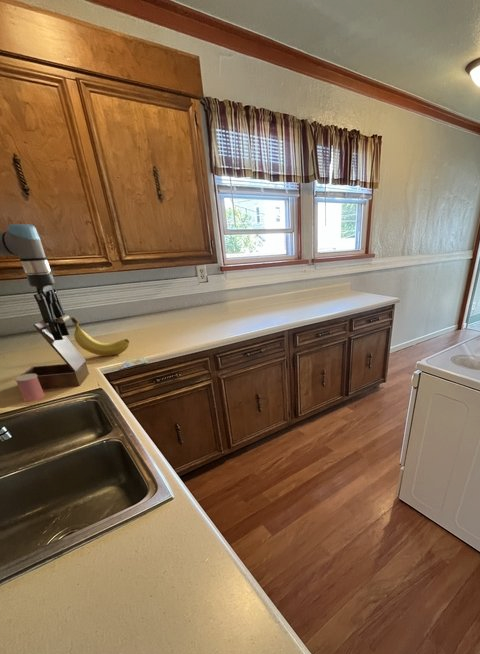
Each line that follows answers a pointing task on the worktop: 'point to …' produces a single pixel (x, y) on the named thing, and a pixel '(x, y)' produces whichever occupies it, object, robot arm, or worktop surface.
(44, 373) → the brown wooden box
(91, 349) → the banana
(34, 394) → the liner stack
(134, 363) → the baking ingredient package
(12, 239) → the robot arm
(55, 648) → the worktop surface
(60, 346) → the lid
